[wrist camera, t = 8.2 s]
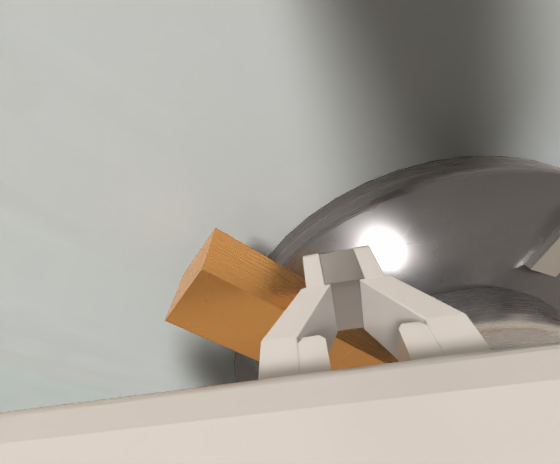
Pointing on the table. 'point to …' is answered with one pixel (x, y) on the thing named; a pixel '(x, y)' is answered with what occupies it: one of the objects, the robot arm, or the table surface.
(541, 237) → the plate
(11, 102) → the table surface
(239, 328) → the dial
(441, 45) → the table surface
